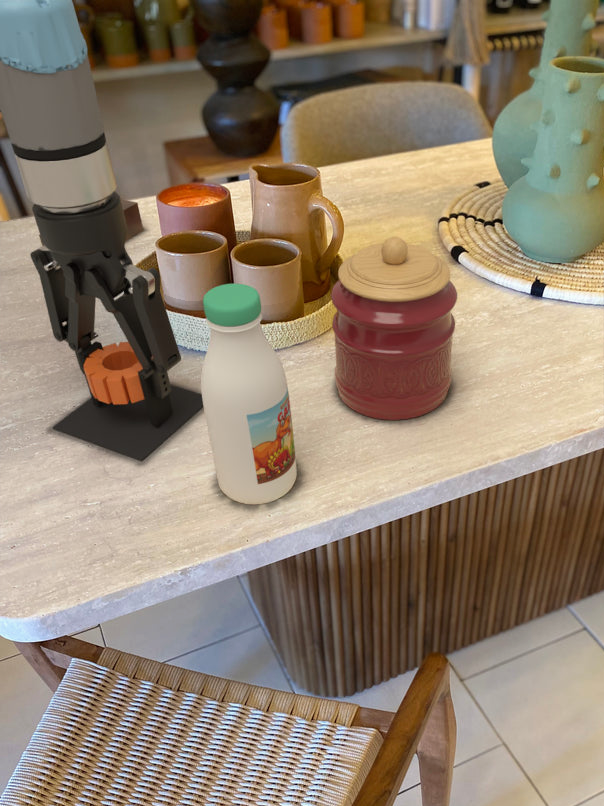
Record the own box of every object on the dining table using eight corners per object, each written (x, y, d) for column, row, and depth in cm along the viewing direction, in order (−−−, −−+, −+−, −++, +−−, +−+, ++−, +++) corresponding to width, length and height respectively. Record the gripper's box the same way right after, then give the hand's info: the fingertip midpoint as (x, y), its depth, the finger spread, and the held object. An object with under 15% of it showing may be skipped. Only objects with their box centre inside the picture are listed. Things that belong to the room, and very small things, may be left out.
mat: (53, 430, 82) (52, 427, 81) (127, 373, 89) (127, 370, 89) (142, 462, 78) (141, 459, 77) (212, 400, 85) (211, 397, 85)
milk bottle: (231, 516, 72) (195, 327, 58) (209, 467, 77) (172, 283, 63) (308, 493, 74) (292, 306, 60) (282, 447, 79) (261, 265, 65)
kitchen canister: (449, 358, 91) (460, 212, 79) (450, 425, 82) (462, 270, 70) (341, 355, 92) (335, 209, 80) (329, 421, 82) (320, 267, 70)
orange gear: (76, 393, 80) (68, 368, 78) (122, 359, 84) (116, 335, 82) (131, 411, 77) (124, 387, 75) (175, 375, 82) (170, 351, 80)
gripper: (193, 201, 66) (230, 415, 82) (22, 164, 73) (86, 368, 89) (136, 234, 61) (187, 455, 77) (-41, 192, 68) (38, 403, 84)
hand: (133, 408), depth 83 cm, fingers closed on orange gear, 7 cm apart
